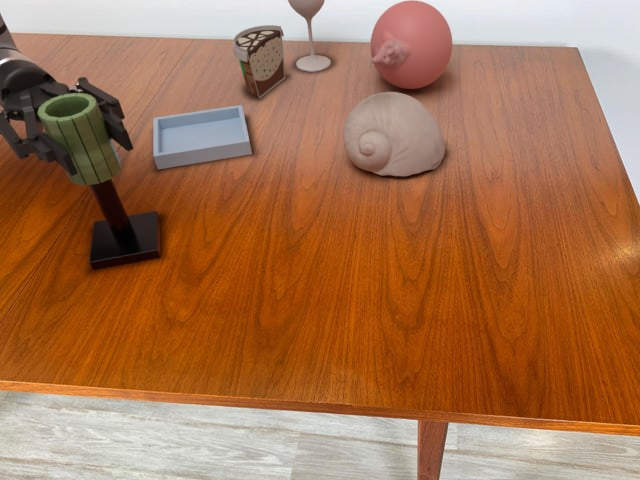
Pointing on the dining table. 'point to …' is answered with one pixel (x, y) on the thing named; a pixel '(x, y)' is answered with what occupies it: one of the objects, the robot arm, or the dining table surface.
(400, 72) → the balloon
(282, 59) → the food container
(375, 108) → the seashell
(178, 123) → the tray
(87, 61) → the dining table surface
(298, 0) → the wineglass
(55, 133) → the ring sleeve
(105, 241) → the post
